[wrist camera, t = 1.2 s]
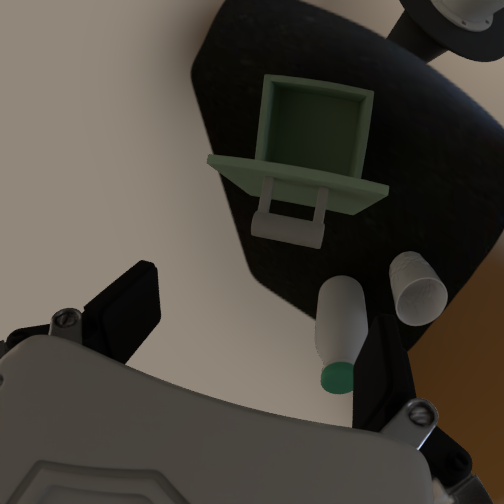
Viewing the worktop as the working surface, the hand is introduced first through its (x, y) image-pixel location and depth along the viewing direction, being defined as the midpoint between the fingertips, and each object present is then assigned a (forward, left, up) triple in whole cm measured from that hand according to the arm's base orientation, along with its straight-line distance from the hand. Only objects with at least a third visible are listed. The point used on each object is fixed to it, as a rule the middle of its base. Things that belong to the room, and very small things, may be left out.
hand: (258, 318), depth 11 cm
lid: (-2, 0, -17) cm, 17 cm away
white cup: (+11, +19, -34) cm, 40 cm away
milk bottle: (+18, +9, -34) cm, 39 cm away
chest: (-6, 0, -33) cm, 34 cm away
